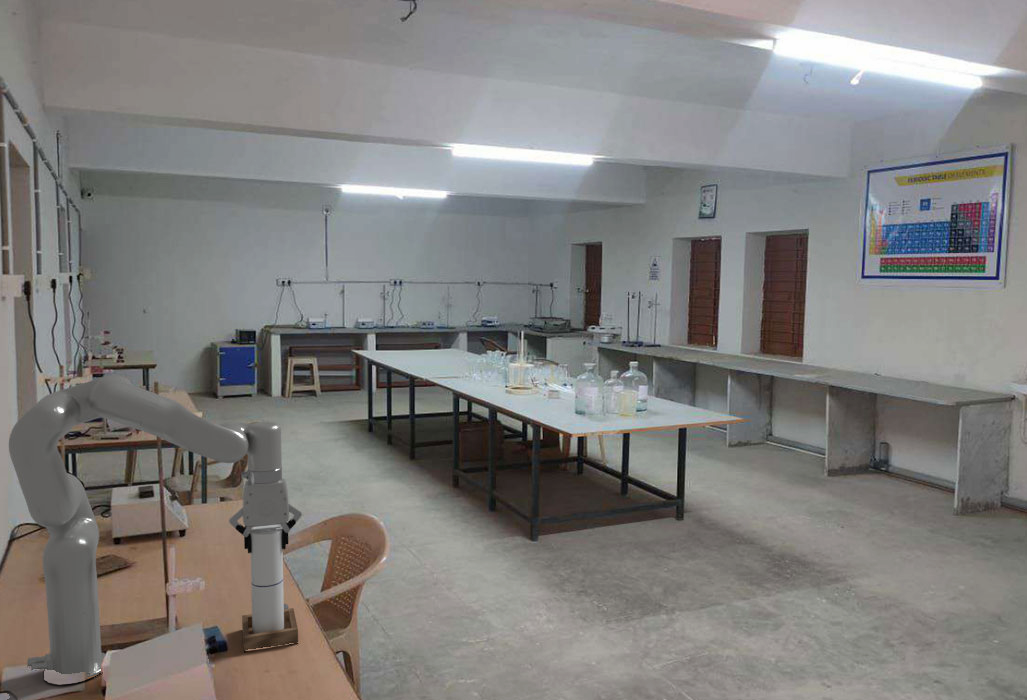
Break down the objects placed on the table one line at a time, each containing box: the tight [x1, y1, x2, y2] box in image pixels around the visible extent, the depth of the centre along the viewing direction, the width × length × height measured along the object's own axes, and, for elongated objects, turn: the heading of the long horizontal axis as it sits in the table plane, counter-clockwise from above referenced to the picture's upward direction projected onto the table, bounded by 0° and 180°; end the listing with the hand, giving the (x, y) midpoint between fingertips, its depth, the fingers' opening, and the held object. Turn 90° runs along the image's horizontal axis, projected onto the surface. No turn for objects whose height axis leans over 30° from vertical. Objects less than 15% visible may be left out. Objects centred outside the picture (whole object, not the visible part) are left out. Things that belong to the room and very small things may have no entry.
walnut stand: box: [241, 607, 299, 651], centre depth 181 cm, size 12×12×4 cm
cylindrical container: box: [250, 524, 285, 634], centre depth 180 cm, size 7×7×25 cm
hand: (266, 548), depth 179 cm, fingers closed on cylindrical container, 7 cm apart
